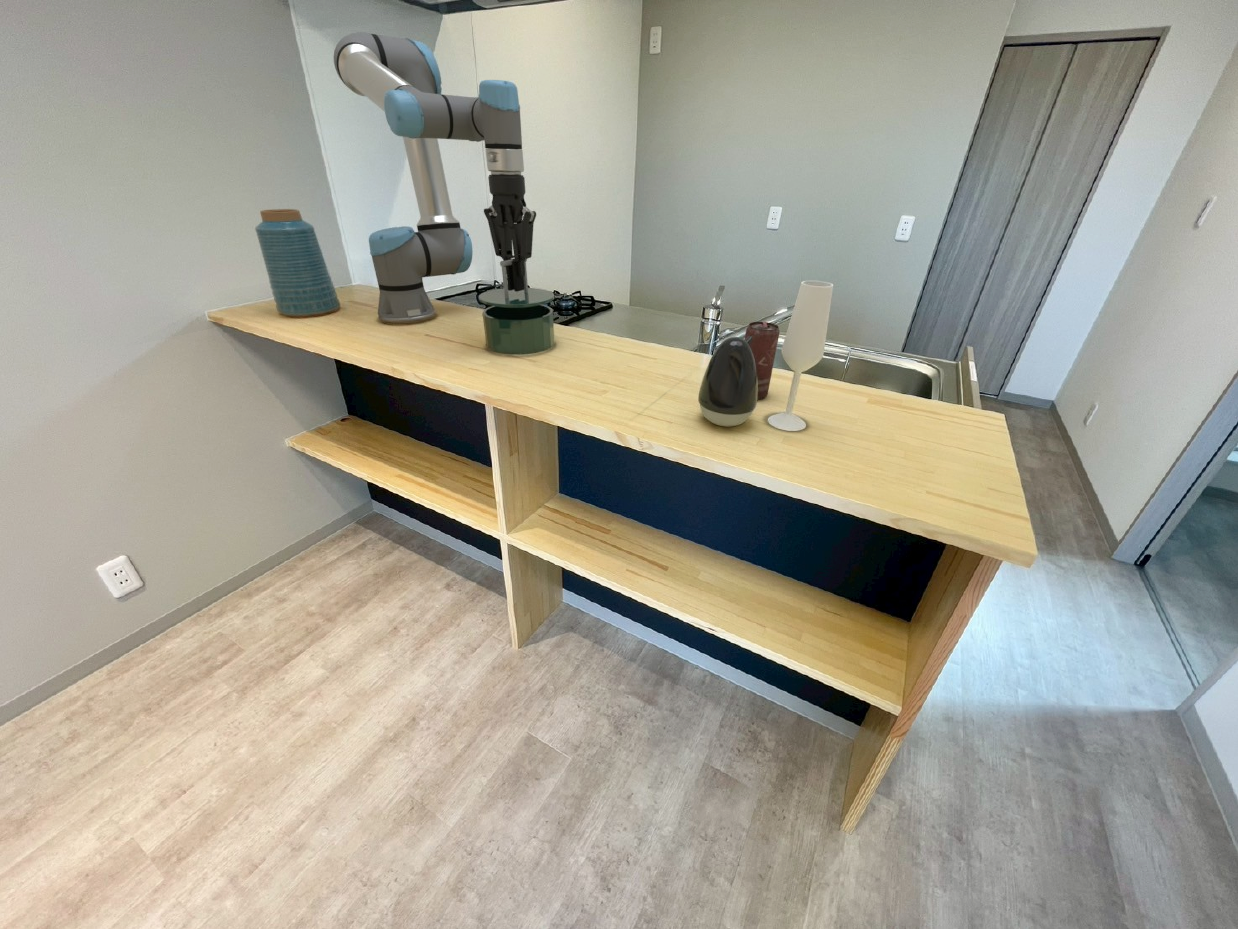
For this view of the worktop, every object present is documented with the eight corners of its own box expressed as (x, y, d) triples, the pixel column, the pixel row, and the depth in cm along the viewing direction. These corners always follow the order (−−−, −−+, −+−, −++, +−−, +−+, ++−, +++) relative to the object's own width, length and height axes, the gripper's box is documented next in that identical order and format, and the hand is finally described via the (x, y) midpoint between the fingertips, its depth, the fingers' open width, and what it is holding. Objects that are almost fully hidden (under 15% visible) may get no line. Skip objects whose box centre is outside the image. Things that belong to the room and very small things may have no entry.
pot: (472, 348, 120) (467, 313, 115) (517, 332, 132) (514, 299, 128) (525, 361, 113) (522, 324, 108) (567, 342, 125) (566, 308, 121)
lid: (463, 302, 114) (456, 260, 109) (513, 289, 127) (509, 250, 122) (522, 313, 106) (518, 268, 102) (569, 298, 119) (567, 257, 115)
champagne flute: (764, 413, 92) (789, 278, 79) (800, 414, 91) (831, 279, 79) (772, 430, 86) (801, 287, 73) (811, 431, 86) (846, 289, 73)
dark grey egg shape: (764, 419, 89) (780, 337, 81) (733, 439, 83) (747, 351, 75) (716, 403, 95) (727, 324, 87) (684, 420, 89) (692, 337, 81)
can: (764, 388, 102) (777, 320, 94) (769, 401, 96) (783, 330, 89) (734, 386, 102) (745, 319, 95) (738, 399, 97) (749, 328, 90)
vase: (332, 317, 140) (302, 213, 126) (269, 319, 137) (231, 213, 123) (347, 303, 154) (322, 208, 140) (290, 305, 151) (259, 207, 137)
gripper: (468, 172, 103) (482, 288, 116) (520, 174, 97) (530, 296, 110) (492, 172, 109) (504, 283, 121) (544, 174, 103) (550, 290, 115)
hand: (516, 289), depth 115 cm, fingers closed on lid
